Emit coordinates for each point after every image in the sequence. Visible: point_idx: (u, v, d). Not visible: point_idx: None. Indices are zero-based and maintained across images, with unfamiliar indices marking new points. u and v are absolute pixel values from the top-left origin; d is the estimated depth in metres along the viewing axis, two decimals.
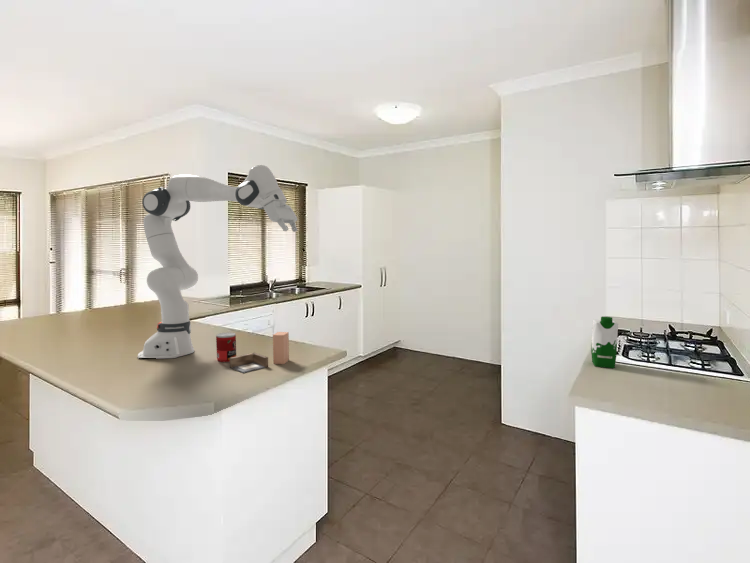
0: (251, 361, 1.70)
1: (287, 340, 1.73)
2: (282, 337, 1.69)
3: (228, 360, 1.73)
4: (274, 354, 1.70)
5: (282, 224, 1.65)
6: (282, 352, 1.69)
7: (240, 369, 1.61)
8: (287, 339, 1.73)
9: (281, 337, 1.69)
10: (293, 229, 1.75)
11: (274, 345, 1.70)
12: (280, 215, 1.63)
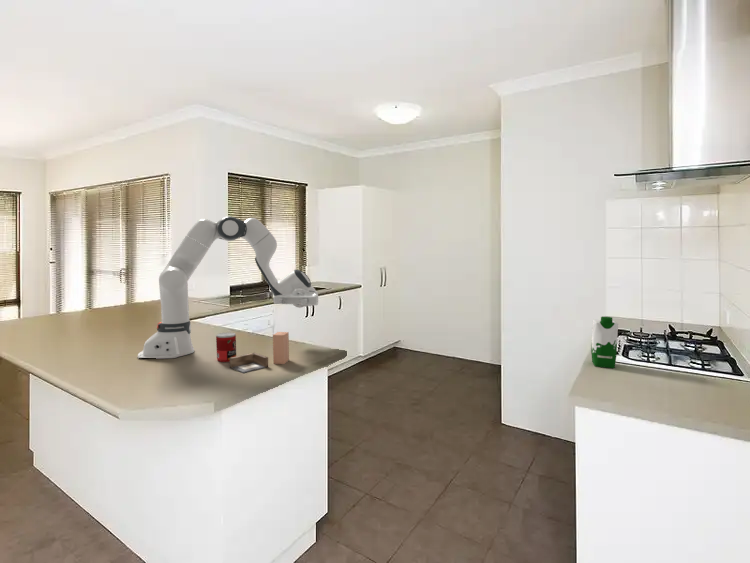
0: (251, 361, 1.70)
1: (287, 340, 1.73)
2: (282, 337, 1.69)
3: (228, 360, 1.73)
4: (274, 354, 1.70)
5: (305, 302, 1.84)
6: (282, 352, 1.69)
7: (240, 369, 1.61)
8: (287, 339, 1.73)
9: (281, 337, 1.69)
10: (282, 301, 1.84)
11: (274, 345, 1.70)
12: (310, 304, 1.87)
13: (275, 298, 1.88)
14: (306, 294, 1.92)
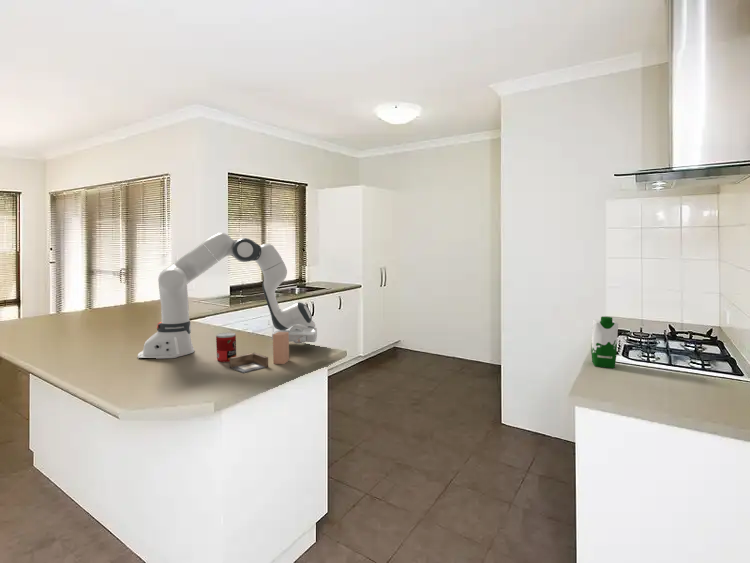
0: (251, 361, 1.70)
1: (287, 340, 1.73)
2: (282, 337, 1.69)
3: (228, 360, 1.73)
4: (274, 354, 1.70)
5: (304, 339, 1.84)
6: (282, 352, 1.69)
7: (240, 369, 1.61)
8: (287, 339, 1.73)
9: (281, 337, 1.69)
10: None
11: (274, 345, 1.70)
12: None
13: None
14: (305, 330, 1.92)
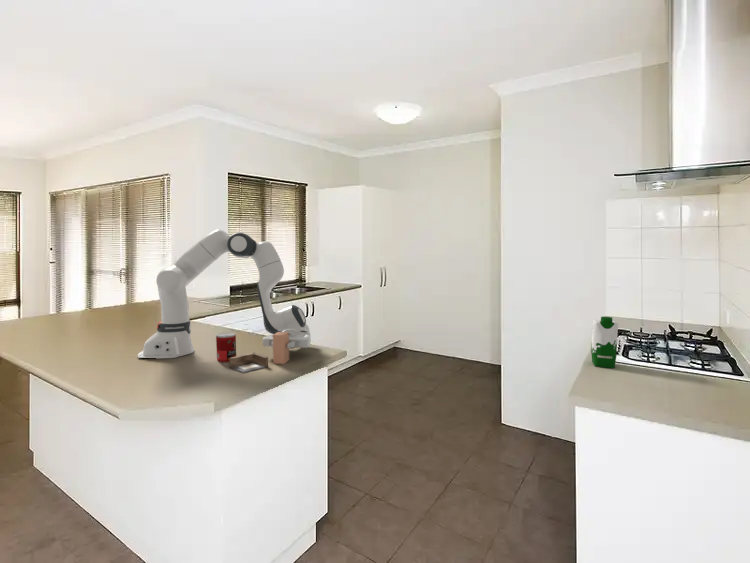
0: (251, 361, 1.70)
1: (287, 340, 1.73)
2: (282, 337, 1.69)
3: (228, 360, 1.73)
4: (274, 354, 1.70)
5: (292, 345, 1.73)
6: (282, 352, 1.69)
7: (240, 369, 1.61)
8: (286, 339, 1.73)
9: (281, 337, 1.69)
10: None
11: (274, 345, 1.70)
12: None
13: (264, 340, 1.77)
14: (297, 335, 1.81)
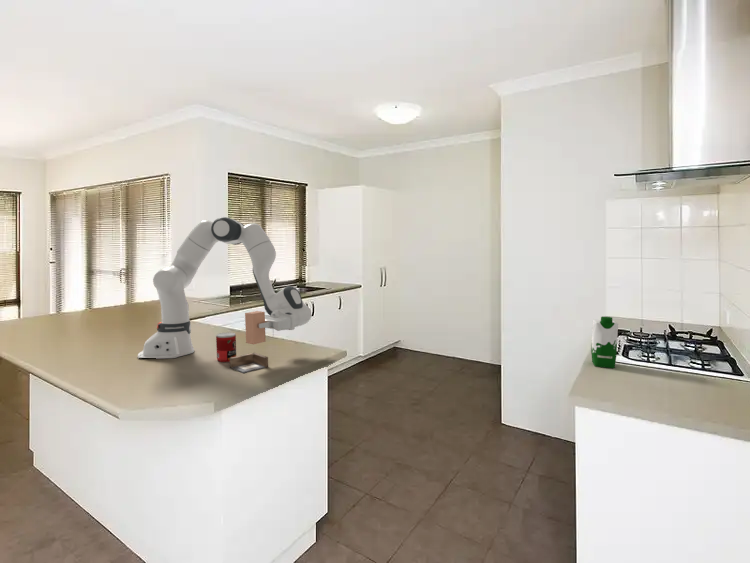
0: (251, 361, 1.70)
1: (262, 320, 1.64)
2: (251, 316, 1.61)
3: (228, 360, 1.73)
4: (246, 333, 1.63)
5: (265, 325, 1.63)
6: (251, 332, 1.61)
7: (240, 369, 1.61)
8: (260, 319, 1.64)
9: (250, 316, 1.61)
10: None
11: (246, 324, 1.63)
12: None
13: None
14: (280, 317, 1.70)
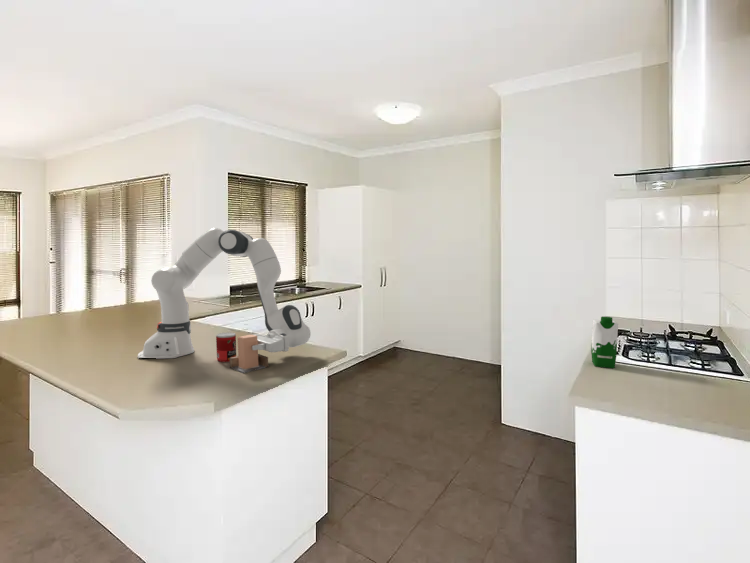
0: None
1: (254, 344, 1.63)
2: (243, 340, 1.60)
3: (228, 360, 1.73)
4: (239, 357, 1.63)
5: (259, 347, 1.61)
6: (243, 356, 1.61)
7: (240, 369, 1.61)
8: (252, 343, 1.63)
9: (242, 340, 1.61)
10: None
11: (238, 348, 1.63)
12: None
13: None
14: (274, 337, 1.68)
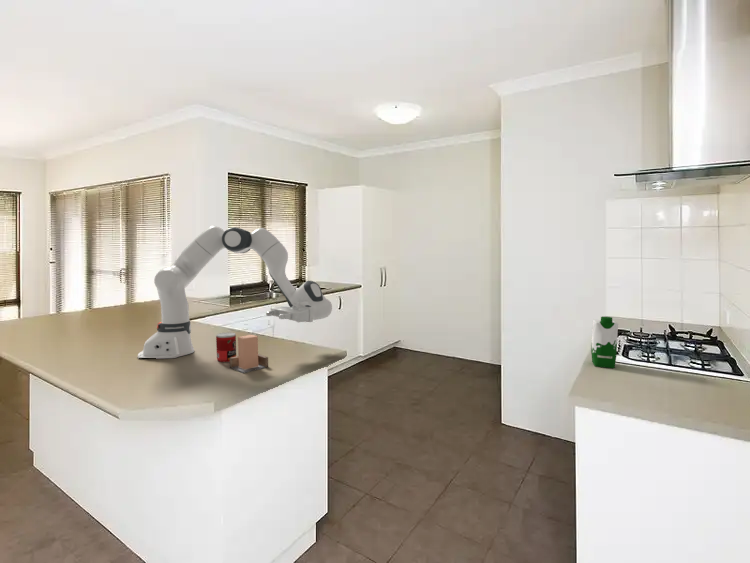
0: None
1: (254, 344, 1.63)
2: (243, 340, 1.60)
3: (228, 360, 1.73)
4: (239, 357, 1.63)
5: (287, 317, 1.69)
6: (243, 357, 1.61)
7: (240, 369, 1.61)
8: (253, 344, 1.63)
9: (242, 340, 1.60)
10: (269, 313, 1.75)
11: (238, 348, 1.63)
12: (295, 320, 1.70)
13: (271, 309, 1.81)
14: (300, 309, 1.76)
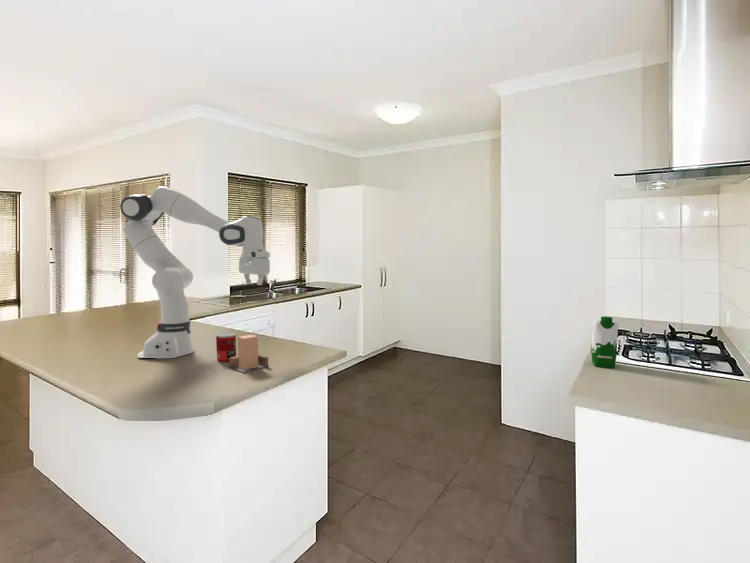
0: None
1: (254, 344, 1.63)
2: (243, 340, 1.60)
3: (228, 360, 1.73)
4: (239, 357, 1.63)
5: (261, 279, 1.80)
6: (243, 357, 1.61)
7: (240, 369, 1.61)
8: (253, 344, 1.63)
9: (242, 340, 1.60)
10: (248, 281, 1.87)
11: (238, 348, 1.63)
12: None
13: (241, 272, 1.89)
14: (253, 260, 1.79)
